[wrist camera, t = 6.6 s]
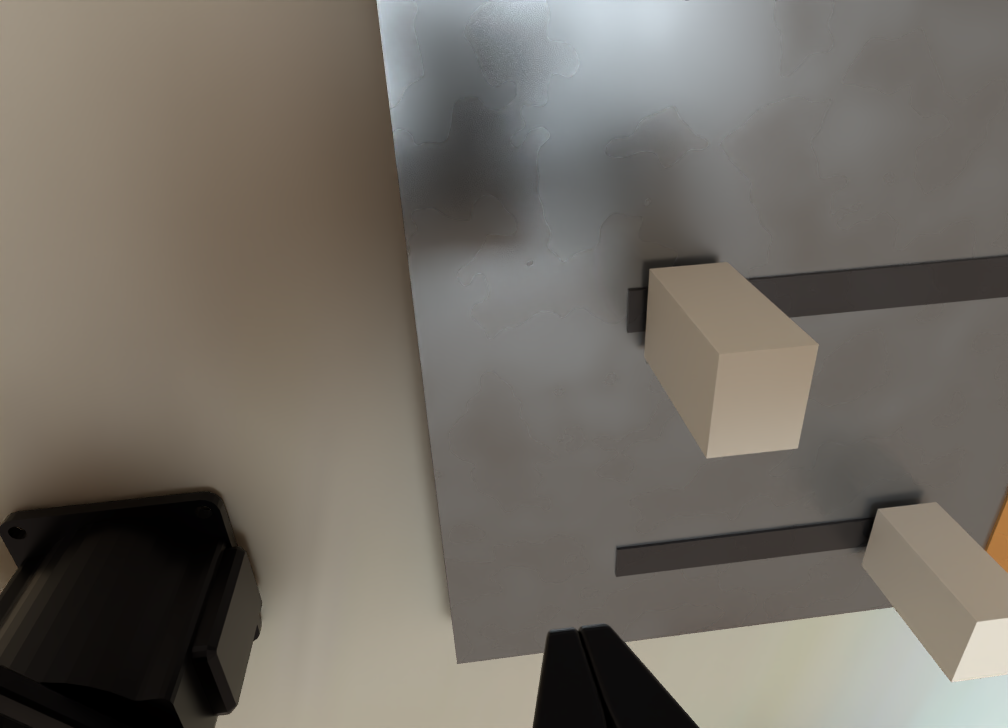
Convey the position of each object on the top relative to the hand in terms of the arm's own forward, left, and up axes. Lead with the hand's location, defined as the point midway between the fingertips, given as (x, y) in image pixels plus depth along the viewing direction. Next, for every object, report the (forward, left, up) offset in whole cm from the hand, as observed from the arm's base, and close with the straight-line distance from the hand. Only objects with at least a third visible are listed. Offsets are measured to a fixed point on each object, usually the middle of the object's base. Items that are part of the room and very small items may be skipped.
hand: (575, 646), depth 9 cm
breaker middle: (+5, 0, -10) cm, 11 cm away
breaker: (+13, -9, -9) cm, 18 cm away
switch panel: (+9, 0, -12) cm, 15 cm away
